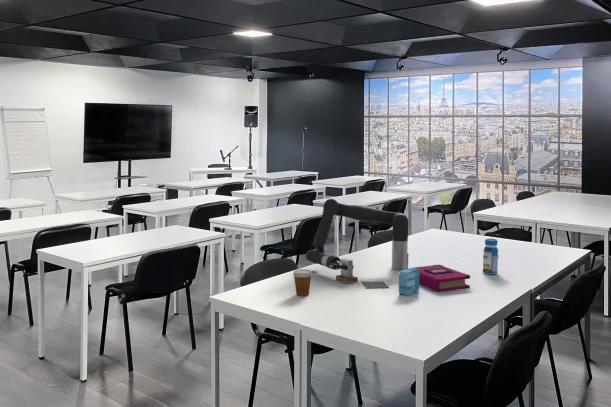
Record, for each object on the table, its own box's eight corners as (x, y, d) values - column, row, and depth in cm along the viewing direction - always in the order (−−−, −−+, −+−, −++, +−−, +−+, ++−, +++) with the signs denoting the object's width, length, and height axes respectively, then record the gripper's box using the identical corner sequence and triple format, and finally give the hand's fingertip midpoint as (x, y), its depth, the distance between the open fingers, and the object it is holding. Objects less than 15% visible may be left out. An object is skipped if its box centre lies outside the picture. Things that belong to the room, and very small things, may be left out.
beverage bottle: (498, 275, 316) (500, 241, 314) (483, 274, 318) (484, 240, 316) (496, 272, 325) (498, 238, 322) (481, 271, 326) (482, 237, 324)
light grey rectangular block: (340, 280, 308) (340, 259, 306) (345, 279, 310) (345, 258, 308) (347, 282, 303) (347, 261, 301) (352, 281, 305) (352, 260, 303)
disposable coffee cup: (298, 298, 274) (298, 274, 273) (290, 293, 282) (289, 270, 281) (315, 295, 278) (315, 272, 277) (306, 291, 287) (306, 268, 285)
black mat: (384, 282, 304) (384, 281, 304) (388, 287, 292) (388, 287, 292) (362, 282, 303) (362, 281, 303) (366, 288, 291) (366, 287, 291)
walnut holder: (335, 280, 308) (335, 275, 308) (346, 278, 312) (346, 273, 312) (347, 283, 300) (347, 279, 300) (357, 281, 304) (357, 277, 304)
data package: (406, 296, 277) (406, 272, 275) (398, 294, 280) (398, 271, 278) (419, 291, 285) (419, 268, 284) (411, 289, 288) (412, 267, 287)
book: (437, 293, 283) (437, 278, 282) (407, 280, 309) (407, 266, 308) (471, 288, 291) (471, 274, 290) (439, 276, 317) (439, 263, 316)
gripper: (321, 257, 312) (339, 262, 298) (340, 253, 320) (360, 259, 306) (321, 270, 313) (339, 276, 299) (340, 266, 321) (360, 272, 307)
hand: (350, 267), depth 303 cm, fingers closed on light grey rectangular block, 3 cm apart
